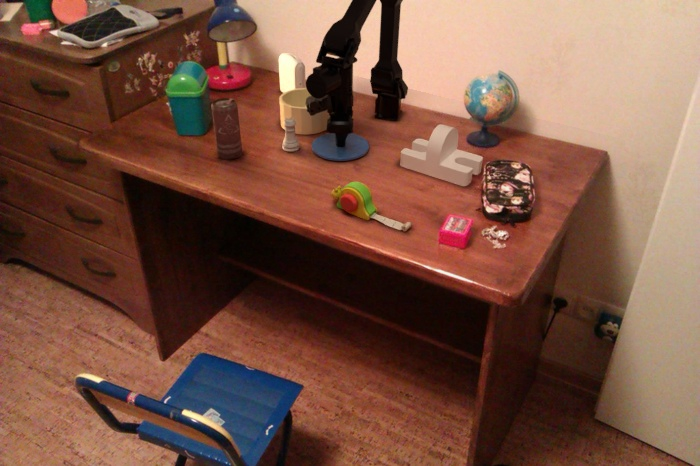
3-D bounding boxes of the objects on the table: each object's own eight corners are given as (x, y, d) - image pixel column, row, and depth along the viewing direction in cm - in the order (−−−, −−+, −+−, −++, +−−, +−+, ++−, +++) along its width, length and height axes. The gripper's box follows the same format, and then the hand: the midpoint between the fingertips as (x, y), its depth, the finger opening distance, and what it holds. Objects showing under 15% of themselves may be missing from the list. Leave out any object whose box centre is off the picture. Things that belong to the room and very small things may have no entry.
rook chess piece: (302, 146, 155) (301, 117, 151) (295, 153, 152) (294, 124, 147) (286, 143, 157) (284, 114, 152) (279, 151, 153) (277, 122, 148)
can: (247, 151, 153) (242, 99, 145) (233, 162, 148) (227, 109, 140) (227, 146, 155) (221, 94, 147) (212, 157, 150) (205, 104, 142)
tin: (328, 112, 172) (328, 87, 168) (332, 133, 161) (332, 107, 157) (280, 114, 171) (278, 88, 167) (281, 135, 160) (279, 109, 156)
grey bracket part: (465, 187, 140) (471, 145, 133) (398, 165, 148) (400, 125, 141) (482, 170, 146) (488, 129, 140) (416, 150, 154) (420, 111, 148)
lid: (364, 135, 161) (365, 115, 158) (372, 161, 149) (373, 140, 146) (310, 137, 160) (309, 117, 156) (313, 164, 148) (313, 143, 144)
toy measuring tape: (341, 195, 136) (341, 169, 132) (416, 224, 127) (418, 197, 123) (324, 208, 132) (323, 182, 128) (400, 238, 123) (402, 211, 119)
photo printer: (308, 99, 180) (306, 58, 173) (295, 102, 178) (293, 61, 171) (290, 88, 187) (288, 48, 179) (278, 91, 185) (275, 51, 177)
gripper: (309, 69, 152) (311, 126, 161) (304, 99, 137) (306, 160, 146) (353, 70, 152) (352, 127, 161) (353, 100, 137) (352, 161, 146)
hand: (340, 143), depth 153 cm, fingers closed on lid, 3 cm apart
